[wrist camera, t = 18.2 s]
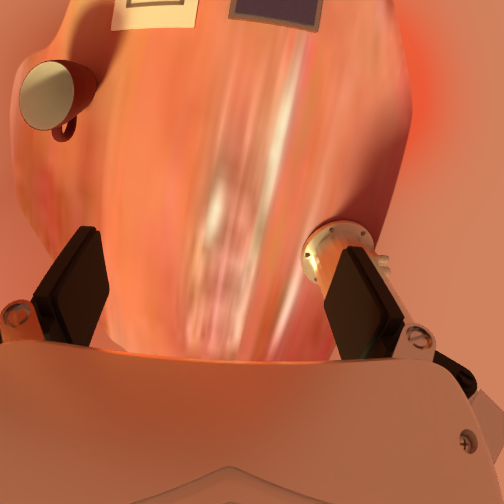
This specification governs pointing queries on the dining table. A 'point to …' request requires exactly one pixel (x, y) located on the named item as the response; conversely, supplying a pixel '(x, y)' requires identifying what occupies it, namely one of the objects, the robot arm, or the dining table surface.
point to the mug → (56, 96)
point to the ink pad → (279, 12)
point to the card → (153, 14)
